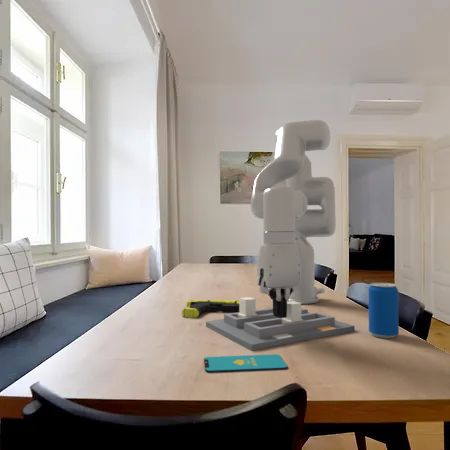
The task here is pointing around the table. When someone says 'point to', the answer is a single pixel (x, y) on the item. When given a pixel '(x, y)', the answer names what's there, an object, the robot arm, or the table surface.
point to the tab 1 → (247, 307)
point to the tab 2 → (293, 312)
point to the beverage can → (383, 310)
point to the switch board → (276, 328)
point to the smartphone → (244, 363)
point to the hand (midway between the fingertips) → (279, 316)
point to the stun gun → (209, 307)
